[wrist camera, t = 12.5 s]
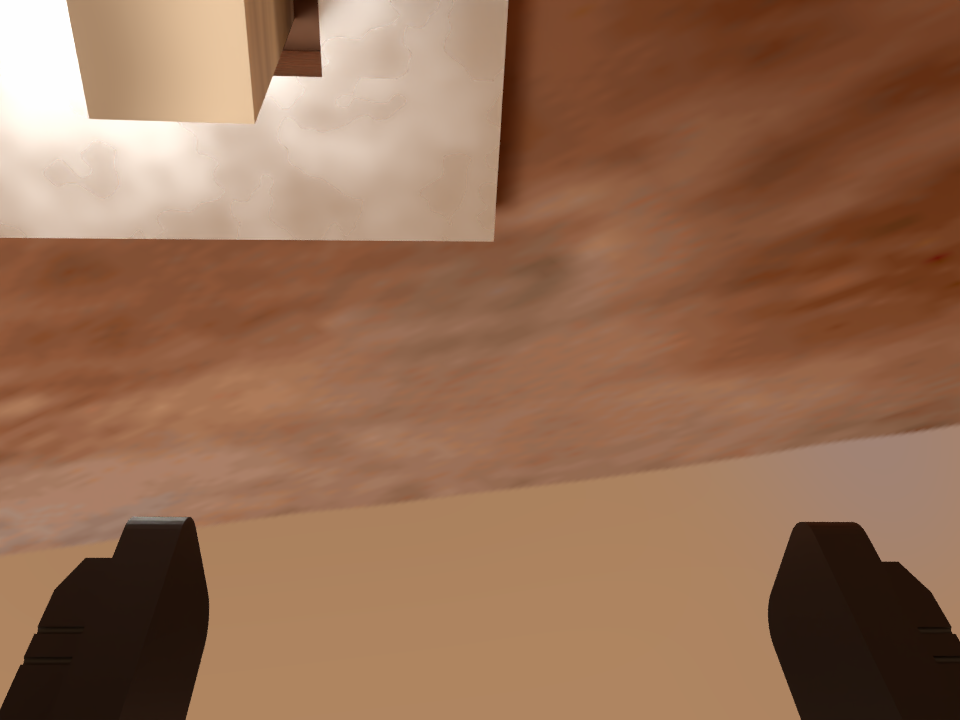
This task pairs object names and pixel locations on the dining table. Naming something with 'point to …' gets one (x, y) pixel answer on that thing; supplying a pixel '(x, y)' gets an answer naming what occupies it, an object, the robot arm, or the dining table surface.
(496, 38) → the square slotted board
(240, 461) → the dining table surface
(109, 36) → the wooden block
